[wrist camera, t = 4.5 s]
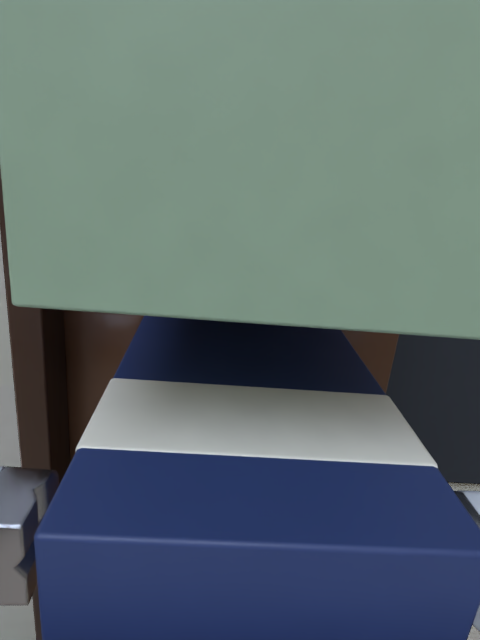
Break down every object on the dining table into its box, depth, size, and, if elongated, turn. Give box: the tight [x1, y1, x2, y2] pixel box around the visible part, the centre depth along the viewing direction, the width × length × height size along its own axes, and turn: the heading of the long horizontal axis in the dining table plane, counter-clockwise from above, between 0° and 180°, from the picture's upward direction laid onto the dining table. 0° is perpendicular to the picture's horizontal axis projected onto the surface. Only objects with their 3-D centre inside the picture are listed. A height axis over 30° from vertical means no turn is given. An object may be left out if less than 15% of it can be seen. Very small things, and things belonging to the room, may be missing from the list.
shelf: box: [0, 167, 399, 640], centre depth 17 cm, size 10×26×12 cm, turn 175°
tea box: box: [34, 316, 480, 640], centre depth 9 cm, size 5×6×8 cm
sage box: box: [0, 0, 480, 340], centre depth 7 cm, size 5×6×8 cm
